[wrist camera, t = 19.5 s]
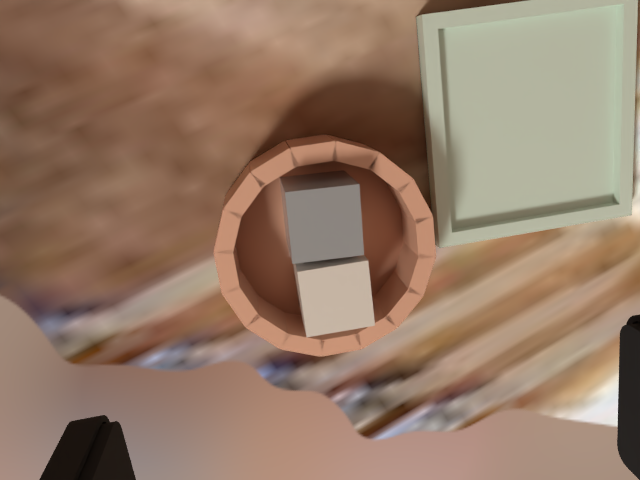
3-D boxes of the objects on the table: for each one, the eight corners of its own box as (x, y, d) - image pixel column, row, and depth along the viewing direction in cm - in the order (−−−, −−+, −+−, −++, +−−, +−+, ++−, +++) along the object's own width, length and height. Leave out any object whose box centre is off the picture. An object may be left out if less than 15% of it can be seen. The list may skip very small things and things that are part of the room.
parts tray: (416, 16, 37) (421, 14, 36) (625, -12, 39) (638, -15, 37) (433, 243, 42) (439, 248, 41) (620, 211, 43) (631, 215, 42)
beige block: (290, 246, 40) (297, 271, 35) (352, 237, 40) (368, 260, 35) (298, 304, 41) (306, 337, 36) (358, 294, 41) (374, 325, 36)
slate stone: (279, 177, 38) (284, 192, 33) (343, 170, 39) (359, 184, 34) (286, 239, 40) (292, 263, 34) (348, 232, 40) (364, 255, 35)
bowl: (201, 153, 38) (195, 162, 34) (406, 122, 39) (425, 127, 35) (238, 342, 42) (237, 372, 38) (422, 309, 43) (442, 334, 39)
